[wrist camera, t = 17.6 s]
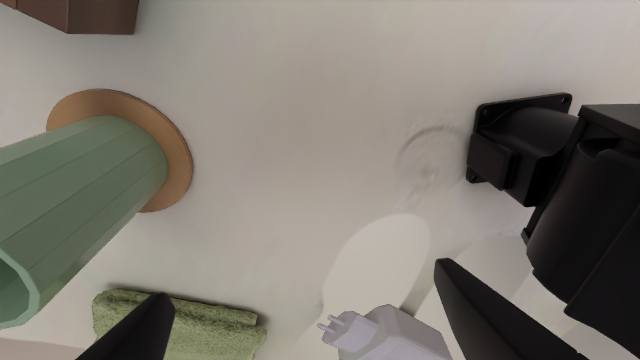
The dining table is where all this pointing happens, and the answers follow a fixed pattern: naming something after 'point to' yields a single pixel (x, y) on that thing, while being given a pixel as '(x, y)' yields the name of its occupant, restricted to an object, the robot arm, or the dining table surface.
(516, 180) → the robot arm
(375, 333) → the charger
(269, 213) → the dining table surface
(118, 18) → the cup holder
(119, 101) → the coaster
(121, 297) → the washcloth
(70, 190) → the cup
